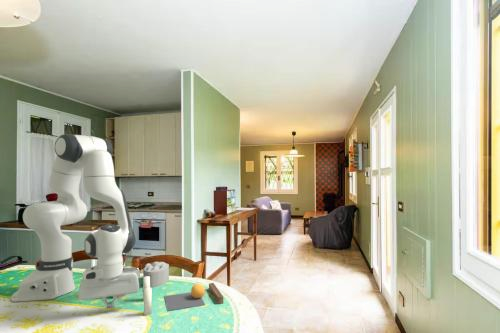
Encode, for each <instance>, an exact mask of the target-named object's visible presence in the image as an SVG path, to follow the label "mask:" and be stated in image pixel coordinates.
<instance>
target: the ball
mask: <svg viewBox="0 0 500 333" xmlns="http://www.w3.org/2000/svg"><path fill="white" fill-rule="evenodd" d="M190 292H191V294H192V296H193V297H194V298H203V297H204V295H205V293H206V288H205V286H204V285H203V284H202V283H196V284H193V286H192V287H191V290H190Z"/></svg>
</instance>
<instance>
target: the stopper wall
mask: <svg viewBox="0 0 500 333" xmlns="http://www.w3.org/2000/svg"><path fill="white" fill-rule="evenodd" d="M208 291H209V292H210V293H211V295H212V296H213V299H215V301H216V303H217V304H218V305H221V304H224V296H223V294H222V292H221V291H220V290H219V288H218V287H217V285H216V284H215V283H214V282H211V283H208Z"/></svg>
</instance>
